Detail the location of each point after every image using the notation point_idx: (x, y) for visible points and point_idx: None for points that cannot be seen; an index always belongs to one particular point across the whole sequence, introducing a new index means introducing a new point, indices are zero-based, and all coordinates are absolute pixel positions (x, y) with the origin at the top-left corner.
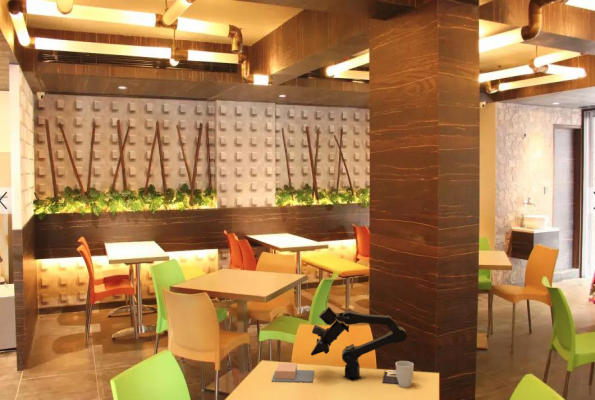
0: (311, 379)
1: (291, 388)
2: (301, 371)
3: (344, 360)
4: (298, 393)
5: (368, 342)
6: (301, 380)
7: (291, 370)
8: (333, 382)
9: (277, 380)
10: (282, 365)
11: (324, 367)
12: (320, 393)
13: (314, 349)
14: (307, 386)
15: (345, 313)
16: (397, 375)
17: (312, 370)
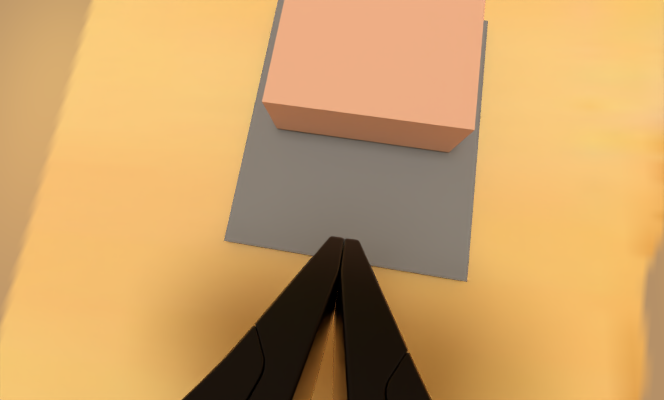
0: (263, 238)
1: (154, 107)
2: (442, 183)
3: None
4: (68, 141)
5: None
6: (254, 169)
7: (289, 77)
8: None
9: (275, 29)
10: (423, 15)
11: (567, 378)
12: (32, 271)
13: (255, 327)
14: (168, 202)
15: None
16: None
17: (462, 266)
